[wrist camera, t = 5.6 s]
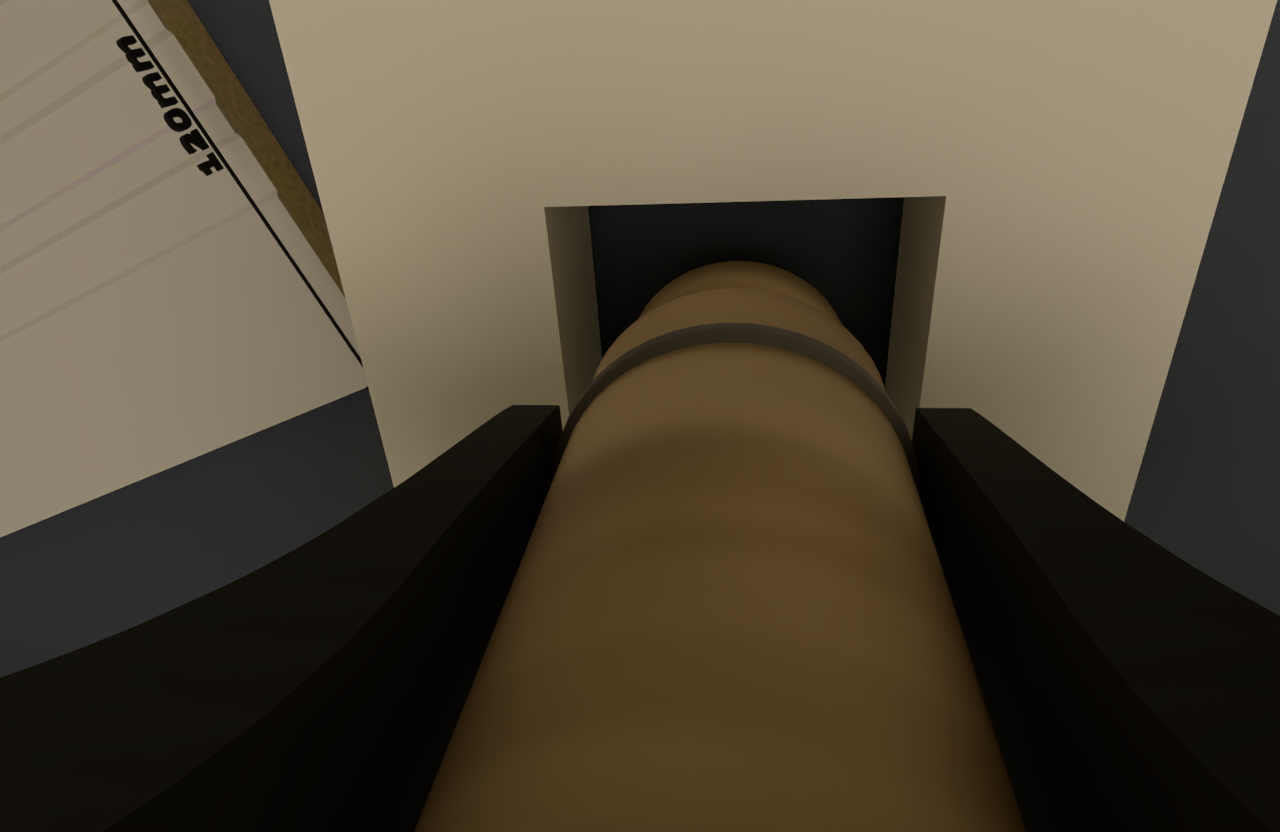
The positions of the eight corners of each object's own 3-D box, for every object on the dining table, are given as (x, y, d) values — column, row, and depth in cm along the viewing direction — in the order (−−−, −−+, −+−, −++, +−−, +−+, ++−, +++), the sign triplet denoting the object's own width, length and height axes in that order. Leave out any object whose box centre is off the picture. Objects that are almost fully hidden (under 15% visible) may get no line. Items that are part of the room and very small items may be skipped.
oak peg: (870, 479, 13) (1046, 1232, 5) (617, 482, 14) (438, 1156, 6) (883, 225, 11) (1194, 824, 3) (586, 241, 12) (254, 776, 4)
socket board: (1028, 568, 17) (1078, 680, 14) (479, 550, 19) (435, 647, 16) (1183, -110, 11) (1315, -130, 8) (358, -49, 13) (256, -48, 10)
